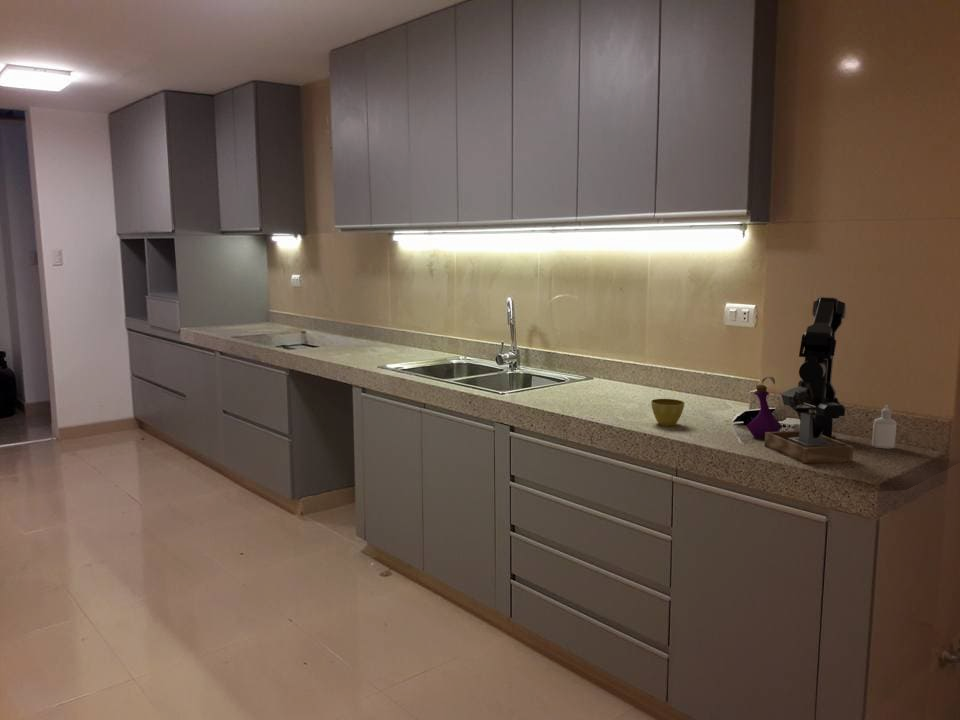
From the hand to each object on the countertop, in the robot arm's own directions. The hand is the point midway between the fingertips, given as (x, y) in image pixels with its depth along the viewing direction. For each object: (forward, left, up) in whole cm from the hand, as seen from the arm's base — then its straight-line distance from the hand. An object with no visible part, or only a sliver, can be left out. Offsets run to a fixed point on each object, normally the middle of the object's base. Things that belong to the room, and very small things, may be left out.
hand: (810, 435), depth 206 cm
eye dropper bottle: (-4, +26, -5) cm, 27 cm away
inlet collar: (0, 0, -5) cm, 5 cm away
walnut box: (-1, 0, -5) cm, 5 cm away
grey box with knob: (0, 0, -2) cm, 2 cm away
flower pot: (-40, -22, -5) cm, 46 cm away
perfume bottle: (-20, -1, -5) cm, 21 cm away
